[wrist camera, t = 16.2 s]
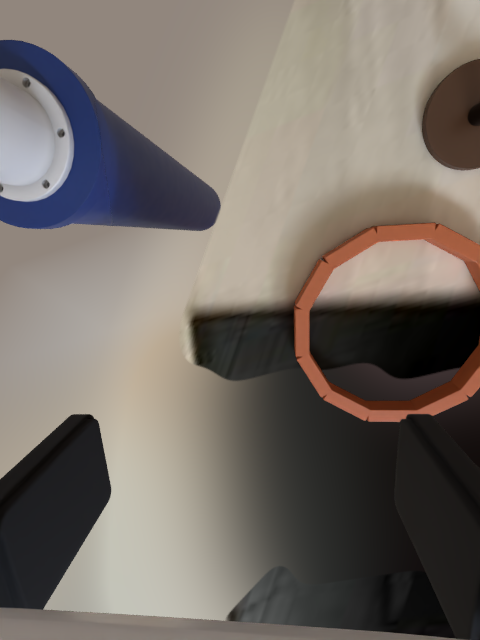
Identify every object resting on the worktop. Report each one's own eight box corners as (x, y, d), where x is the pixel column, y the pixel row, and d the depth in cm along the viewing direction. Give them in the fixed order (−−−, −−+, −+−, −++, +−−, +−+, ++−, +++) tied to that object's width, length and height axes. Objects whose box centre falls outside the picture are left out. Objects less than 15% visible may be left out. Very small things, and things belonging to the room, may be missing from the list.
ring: (295, 411, 40) (296, 421, 38) (292, 231, 34) (293, 231, 32) (483, 412, 37) (495, 422, 35) (511, 218, 32) (528, 217, 30)
